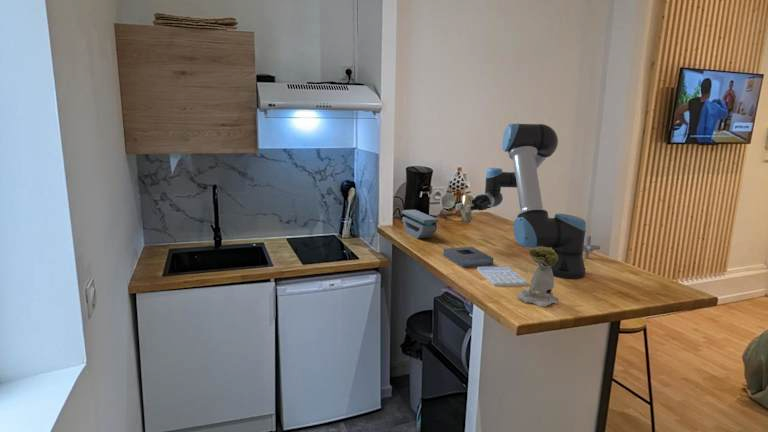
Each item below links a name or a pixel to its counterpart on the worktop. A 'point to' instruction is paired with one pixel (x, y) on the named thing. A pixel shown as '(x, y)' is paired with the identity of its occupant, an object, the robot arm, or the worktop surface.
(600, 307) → the worktop surface
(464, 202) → the brushed metal cylinder
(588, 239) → the pipe connector
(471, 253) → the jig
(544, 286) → the mossy stone tower
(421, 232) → the grey boxy piece
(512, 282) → the calculator
